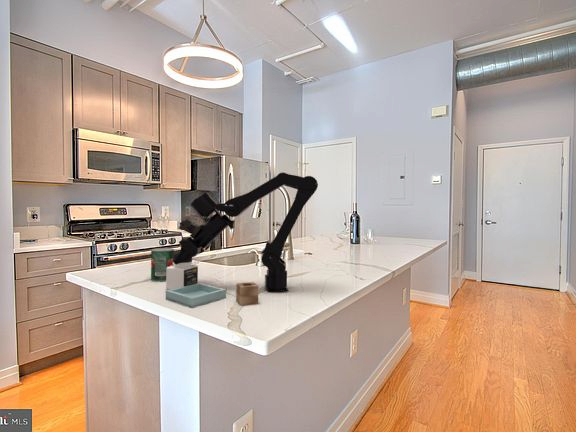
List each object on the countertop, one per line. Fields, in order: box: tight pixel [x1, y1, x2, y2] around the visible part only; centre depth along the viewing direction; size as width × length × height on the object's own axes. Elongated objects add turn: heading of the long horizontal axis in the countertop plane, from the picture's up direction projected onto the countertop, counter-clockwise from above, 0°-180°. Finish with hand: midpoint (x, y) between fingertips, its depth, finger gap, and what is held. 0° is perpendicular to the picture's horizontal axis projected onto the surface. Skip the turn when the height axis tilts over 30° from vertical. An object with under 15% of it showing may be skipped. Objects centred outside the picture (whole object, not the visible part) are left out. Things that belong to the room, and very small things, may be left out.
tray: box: [165, 282, 227, 309], centre depth 90 cm, size 12×12×2 cm
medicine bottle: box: [165, 250, 199, 290], centre depth 101 cm, size 7×7×12 cm
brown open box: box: [235, 281, 259, 306], centre depth 88 cm, size 5×5×5 cm
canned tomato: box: [150, 247, 175, 283], centre depth 113 cm, size 8×8×11 cm
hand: (178, 261), depth 101 cm, fingers closed on medicine bottle, 6 cm apart
